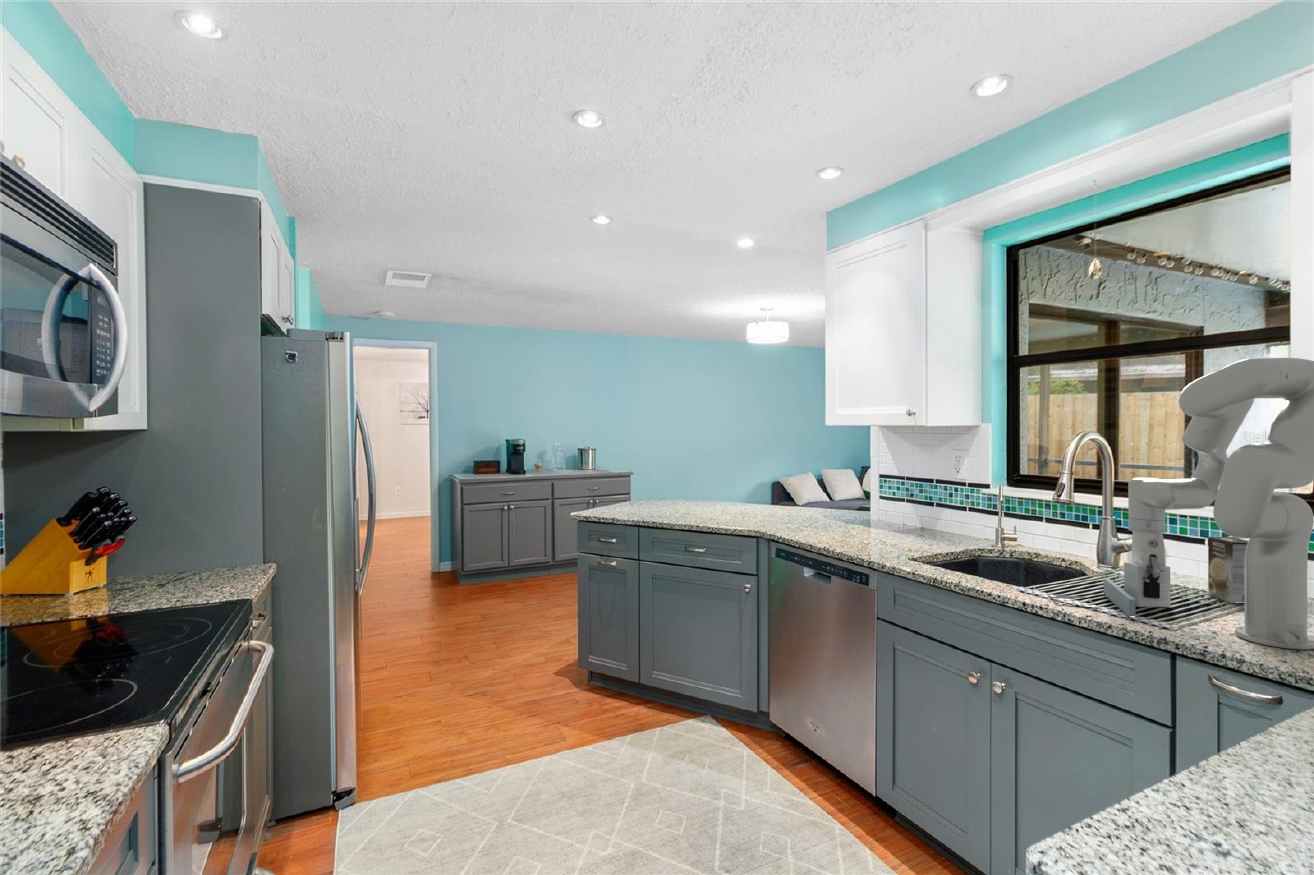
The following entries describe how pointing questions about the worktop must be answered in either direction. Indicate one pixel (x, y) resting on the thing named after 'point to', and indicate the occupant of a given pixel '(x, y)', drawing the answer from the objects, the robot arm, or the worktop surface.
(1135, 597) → the small box
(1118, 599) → the low wall
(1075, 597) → the mat
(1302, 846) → the worktop surface
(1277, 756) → the worktop surface
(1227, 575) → the coffee box
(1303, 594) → the robot arm
